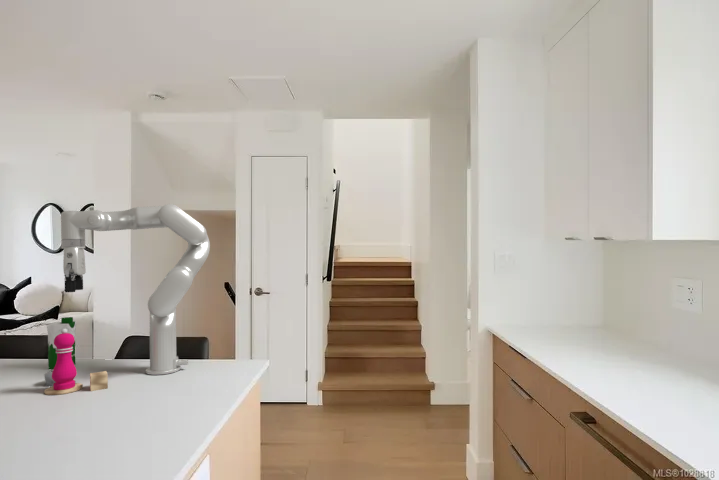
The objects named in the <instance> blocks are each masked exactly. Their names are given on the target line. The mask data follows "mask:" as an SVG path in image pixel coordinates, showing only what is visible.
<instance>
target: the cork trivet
mask: <svg viewBox="0 0 719 480" xmlns="http://www.w3.org/2000/svg"><path fill="white" fill-rule="evenodd" d="M83 388H84V385H83V383H81V382H75V387H73V388H70V389H65V390H54V389H53V386H50V387H49V386H48V387H47V388H46V389H44V393H43V394H44V395H46V396H60V395H67V394H72V393H75V392H78V391H80V390H82V389H83Z"/></svg>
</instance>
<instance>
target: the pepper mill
mask: <svg viewBox="0 0 719 480" xmlns="http://www.w3.org/2000/svg"><path fill="white" fill-rule="evenodd" d="M61 333H62V334H59V335H57V336H56V337H55V339H54V345H55V346H56V347H57V348H56V353H57V362H56V365H55V367H54V369H52V371H53V372H52V379H53V380H54V381H55V383H54V384H53V389H54V390H65V389H70V388H73V387H75V383H76V380H75V378H76V377H77V375H78V373H77V368H76V366H75V365H76V364H75V365H74V363H73V361H72V356H71V353H72V351H73V349H72V348H73V347H72V345H73V344H74V342H75V343H76V338H75V339H74V336H73V335H72V334H70V333H67V329H62V330H61Z"/></svg>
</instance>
